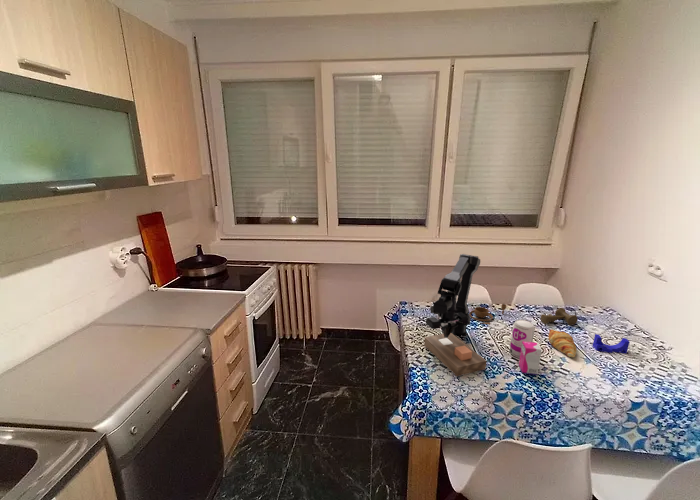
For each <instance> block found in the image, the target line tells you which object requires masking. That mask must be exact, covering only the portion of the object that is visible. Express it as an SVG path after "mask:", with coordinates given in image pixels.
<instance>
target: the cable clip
mask: <svg viewBox="0 0 700 500" xmlns="http://www.w3.org/2000/svg"><path fill="white" fill-rule="evenodd" d="M629 346H630V340H628V338H624V337H622V339H621V340H620V342H618V343H617V344H616V343H615V344H613V345H612V344H610V345H609V344H606V343H604V342H602V337H601V335H600V334H596V333H595V334H594V338H593V343H592V347H593V348H594V350H595V351H597V352H604V353H609V354H610V353H611V354H612V353H613V352H614V353H621V354H627V353H628V350H629Z"/></svg>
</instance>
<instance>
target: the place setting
mask: <svg viewBox="0 0 700 500" xmlns="http://www.w3.org/2000/svg"><path fill="white" fill-rule="evenodd" d="M506 309H507V304H505V303H501V310H502V311H501V315H505V310H506ZM468 314H469V315H470V318H471V319H472V320H474V321H478V322H481V323H483V325H491V321H492V320H493V318H494V316H493V315H492V313H490V310H489V309H488V308H486V307H483V306H476V307H475V308H474V309H473V310H469V313H468ZM472 314H474V315H475V316H476V317H475V316H473V315H472ZM487 316H488V317H489V319H485V318H487Z"/></svg>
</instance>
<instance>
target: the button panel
mask: <svg viewBox="0 0 700 500" xmlns="http://www.w3.org/2000/svg"><path fill="white" fill-rule="evenodd" d="M444 338H445V337H444V334H443V333H440V334H435V335H429V336H425V337H424V339H423V341H424V344H423V345H424V347H426V348H427V350H429V351H430V352H431V353H432V354H433V355H434V356H435V357H436V358H437V359H438V360H439V361H440V362H441V363H442V364H443V365H444V366H445V367H446V368H447V369H449V370H450V372H452V374H454V375H455V377H460V376H466V375H468V374H473V373H476V372H481V371H484V370H486V369H487V360H486V359H485V358H484V357H482V356H481V354H479V353H477V352H476V351H475V350H474V349H473V348H471V347H470V346H469V345H467V344H466V343H464V342H463V341H462V340H461V339H460V338H459V337H456V336H455V335H454V334H453V333H450V335H449V336H448V339H449V340H450V341H451V342H452V343H453V344H449V345H443V344H442V343H441V342H439V341H438V340H439V339H444ZM460 346H466V347H467V348H468V349H470V350H471V351H472V357H471V359H467V360H463V361H461V360H460V359H459V358H458V357H457V356H455V355H454V352H455V347H460Z"/></svg>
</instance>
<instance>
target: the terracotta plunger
mask: <svg viewBox="0 0 700 500" xmlns="http://www.w3.org/2000/svg"><path fill="white" fill-rule="evenodd" d="M454 355H455V356H457V357H458V358H459V359H460V360H461V361H463V360H467V359H471V357H472V351H471V350H470V349H468V348H467V347H466V346H460V347H455V352H454Z"/></svg>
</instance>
